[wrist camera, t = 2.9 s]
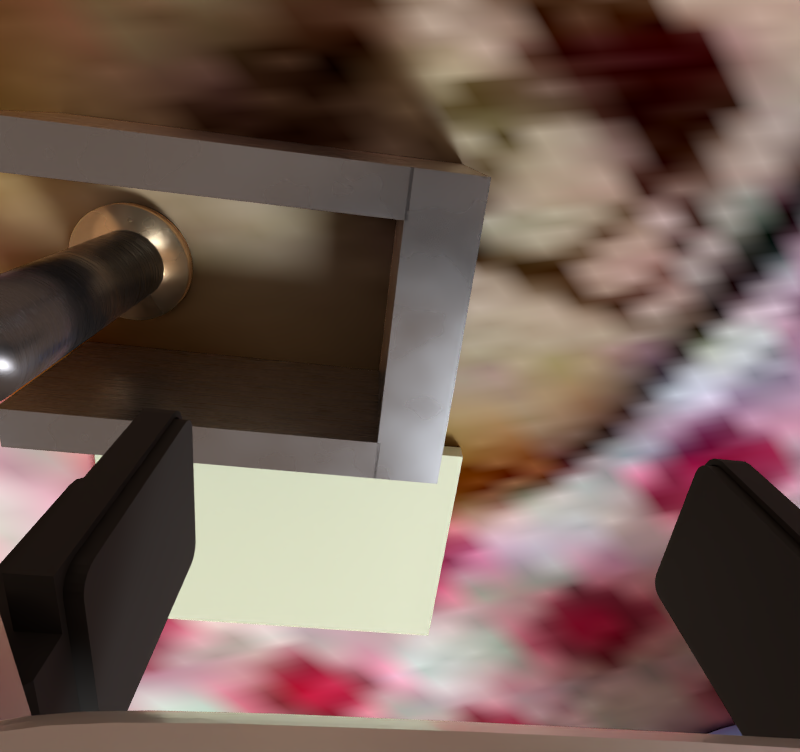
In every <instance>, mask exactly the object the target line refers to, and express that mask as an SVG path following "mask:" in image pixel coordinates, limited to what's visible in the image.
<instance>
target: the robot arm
mask: <svg viewBox="0 0 800 752" xmlns="http://www.w3.org/2000/svg"><path fill="white" fill-rule="evenodd" d="M195 546H196V534H195V500H194V467H193V433H192V423H191V421H190V420H184V419H182V416H181V413H180V412H179V411H174V410H163V409H152V408H144V409H143V410H142V411H141V412H140V413H139V414H138V415H137V416H136V418H135V419H134V420H133V421H132V422H131V423H130V425H129V426H128V427H127V428H126V429H125V430H124V432H123V433H122V434H121V435H120V436H119V437H118V438H117V440H116V441H115V442H114V443H113V444H112V445H111V447H110V448H109V449H108V450H107V451H106V452H105V454H104V455H103V456H102V457H101V458H100V459H99V461H98V462H97V463H96V464H95V465H94V466H93V467H92V469H91V470H90V471H89V472H88V473H87V474H86V476H85V477H84V478H80V479H76V480H75V481H74V482H73V483H71V484H70V485H69V486H68V488H67V489H66V490H65V491H64V492H63V493H62V494H61V495H60V497H59V498H58V499H57V500H56V501H55V502H54V503H53V505H52V506H51V507H50V508H49V509H48V510H47V511H46V512H45V514H44V515H43V516H42V517H41V518H40V519H39V520H38V521H37V523H36V524H35V525H34V526H33V527H32V528H31V529H30V531H29V532H28V533H27V534H26V535H25V536H24V537H23V538H22V540H21V541H20V542H19V543H18V544H17V545H16V546H15V548H14V549H13V550H12V551H11V552H10V553H9V554H8V555H7V557H6V558H5V559H4V560H3V561H2V562H1V563H0V752H800V509H799V508H798V507H797V506H796V505H795V504H793V503H792V502H791V501H790V500H789V499H788V498H787V497H786V496H784V495H783V494H782V493H781V492H780V491H779V490H778V489H777V488H776V487H774V486H773V485H772V484H771V483H770V482H769V481H768V480H767V479H765V478H764V477H763V476H762V475H761V474H760V473H759V472H758V471H756V470H755V469H754V468H753V467H752V466H751V465H750V464H748V463H746V462H743V461H733V460H722V459H712V460H709V461H708V462H707V463H706V464H705V466H704V465H703V466H701V467H699V468H698V469H697V471H696V473H695V476H694V478H693V481H692V484H691V486H690V489H689V491H688V494H687V496H686V499H685V502H684V504H683V507H682V509H681V512H680V515H679V517H678V520H677V522H676V525H675V528H674V530H673V533H672V535H671V538H670V540H669V543H668V546H667V548H666V551H665V553H664V556H663V559H662V561H661V564H660V566H659V569H658V572H657V574H656V578H655V586H656V591H657V594H658V596H659V598H660V600H661V601H662V603H663V605H664V606H665V608H666V610H667V611H668V613H669V614H670V616H671V618H672V619H673V621H674V623H675V624H676V626H677V628H678V629H679V631H680V633H681V634H682V636H683V638H684V639H685V641H686V643H687V644H688V646H689V648H690V649H691V651H692V653H693V654H694V656H695V658H696V659H697V661H698V663H699V664H700V666H701V668H702V669H703V671H704V673H705V674H706V676H707V677H708V679H709V681H710V682H711V684H712V686H713V687H714V689H715V691H716V692H717V694H718V696H719V697H720V699H721V701H722V702H723V704H724V706H725V707H726V709H727V711H728V712H729V714H730V716H731V717H732V719H733V721H734V722H735V724H736V726H737V727H738V729H739V731H740V732H741V734H742V736H737V735H719V734H701V733H682V732H662V731H642V730H622V729H602V728H583V727H562V726H541V725H520V724H499V723H479V722H457V721H433V720H410V719H387V718H363V717H340V716H317V715H294V714H266V713H227V712H188V711H127V710H128V708H129V706H130V703H131V701H132V699H133V697H134V694H135V692H136V690H137V687H138V685H139V683H140V681H141V678H142V676H143V674H144V671H145V669H146V667H147V665H148V662H149V660H150V658H151V655H152V653H153V651H154V649H155V646H156V644H157V642H158V639H159V637H160V635H161V633H162V630H163V628H164V626H165V623H166V621H167V619H168V617H169V614H170V612H171V610H172V607H173V605H174V603H175V601H176V598H177V596H178V594H179V591H180V589H181V587H182V585H183V582H184V580H185V578H186V575H187V573H188V571H189V569H190V566H191V564H192V561H193V558H194V553H195Z"/></svg>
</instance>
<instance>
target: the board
mask: <svg viewBox="0 0 800 752" xmlns="http://www.w3.org/2000/svg"><path fill="white" fill-rule="evenodd" d="M102 456H103V455H95V463H97V462H98V461H99V459H100V458H101V457H102ZM462 458H463V456H462V452H461V448H460V447H449V446H444V448H443V454H442V459H441V465H440V471H439V477H438V482H437V484H433V483H421V482H409V481H398V480H386V479H374V478H363V477H351V476H339V475H327V474H316V473H304V472H292V471H281V470H269V469H257V468H245V467H234V466H222V465H210V464H199V463H193V467H194V500H195V534H196V546H195V553H194V558H193V561H192V564H191V566H190V569H189V571H188V573H187V575H186V578H185V580H184V582H183V585H182V587H181V589H180V591H179V594H178V596H177V598H176V601H175V603H174V605H173V607H172V610H171V612H170V614H169V617H168V619H182V620H197V621H212V622H228V623H243V624H258V625H273V626H289V627H304V628H319V629H335V630H350V631H365V632H380V633H396V634H411V635H426V636H428V634H429V629H430V624H431V619H432V613H433V608H434V603H435V598H436V593H437V587H438V582H439V577H440V572H441V567H442V562H443V556H444V551H445V546H446V541H447V536H448V531H449V525H450V520H451V515H452V510H453V505H454V500H455V494H456V489H457V484H458V479H459V474H460V468H461V463H462Z"/></svg>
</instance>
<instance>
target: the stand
mask: <svg viewBox="0 0 800 752" xmlns="http://www.w3.org/2000/svg"><path fill="white" fill-rule="evenodd" d="M192 276H193V263H192V257H191V253H190V250H189V247H188V245H187V243H186V241H185V239H184V237H183V236H182V234H181V233H180V231H179V230H178V229H177V228H176V227H175V225H174V224H172V223H171V222H170V221H169V220H168V219H167V218H166V217H164V216H163V215H162V214H160V213H158V212H157V211H155V210H153V209H151V208H148V207H146V206H143V205H140V204H134V203H124V202H123V203H114V204H109V205H106V206H102V207H99V208H97V209H94V210H92V211H91V212H89V213H87V214H86V215H85V216H84V217H82V218H81V220H80V221H79V222H78V223H77V225H76V226H75V228H74V229H73V232H72V234H71V237H70V241H69V248H67V249H65V250H62V251H60V252H57V253H54V254H52V255H49V256H46V257H44V258H41V259H39V260H36V261H33V262H31V263H28V264H26V265H23V266H20V267H18V268H15V269H13V270H10V271H7V272H5V273H2V274H0V401H2V400H3V399H5V398H6V397H8V396H9V395H11V394H12V393H13V392H15V391H16V390H18V389H19V388H20V387H22V386H23V385H25V384H26V383H27V382H29V381H30V380H32V379H33V378H34V377H36V376H37V375H39V374H40V373H41V372H43V371H44V370H46V369H47V368H48V367H50V366H51V365H53V364H54V363H55V362H57V361H58V360H59V359H61V358H62V357H64V356H65V355H66V354H68V353H69V352H71V351H72V350H73V349H75V348H76V347H78V346H79V345H80V344H82V343H83V342H85V341H86V340H87V339H89V338H90V337H92V336H93V335H94V334H96V333H97V332H99V331H100V330H101V329H103V328H104V327H106V326H107V325H108V324H110V323H111V322H113V321H114V320H115V319H117V318H118V317H122V318H125V319H131V320H148V319H153V318H156V317H159V316H161V315H163V314H165V313H167V312H168V311H170V310H171V309H172V308H174V307H175V306H176V305H177V304H178V303H179V302H180V301H181V300H182V299H183V298H184V296H185V295H186V293H187V291H188V290H189V287H190V284H191V281H192Z"/></svg>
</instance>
